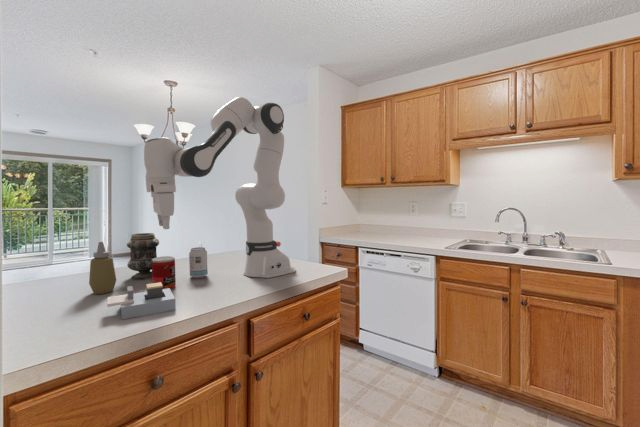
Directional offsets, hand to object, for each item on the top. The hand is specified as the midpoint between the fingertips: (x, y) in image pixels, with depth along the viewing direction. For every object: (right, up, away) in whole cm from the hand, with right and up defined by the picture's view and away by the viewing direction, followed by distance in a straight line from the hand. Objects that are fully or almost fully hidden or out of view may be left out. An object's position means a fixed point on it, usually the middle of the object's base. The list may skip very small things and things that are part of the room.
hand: (164, 227), depth 110 cm
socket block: (0, -25, -10) cm, 27 cm away
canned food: (-5, -23, +10) cm, 26 cm away
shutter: (-6, -21, -14) cm, 26 cm away
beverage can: (+3, -22, +25) cm, 33 cm away
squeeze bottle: (-24, -23, +5) cm, 34 cm away
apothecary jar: (-20, -22, +25) cm, 39 cm away
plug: (+2, -25, -9) cm, 26 cm away
